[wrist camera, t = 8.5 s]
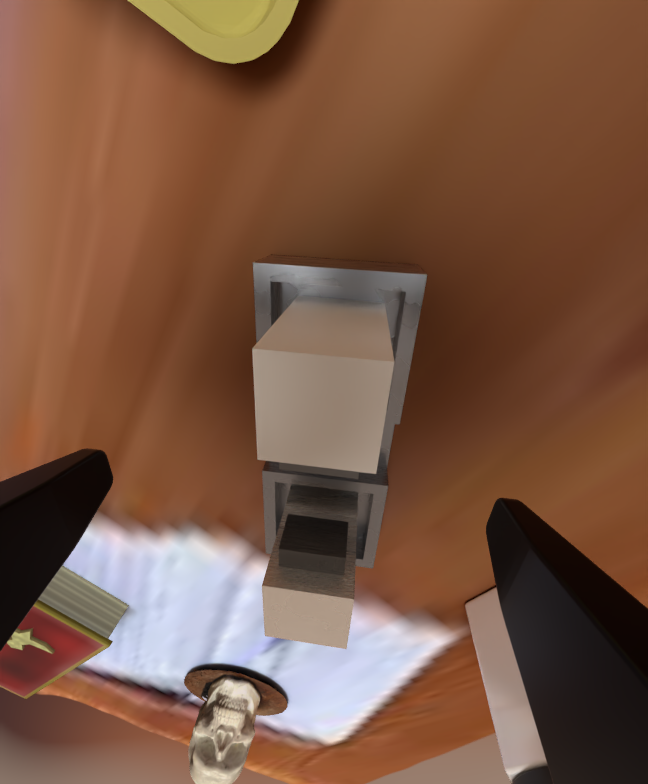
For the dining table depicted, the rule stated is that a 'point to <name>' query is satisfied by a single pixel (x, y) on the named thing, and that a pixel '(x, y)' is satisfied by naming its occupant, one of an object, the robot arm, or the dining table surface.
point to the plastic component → (223, 25)
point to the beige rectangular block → (323, 386)
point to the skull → (226, 722)
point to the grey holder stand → (323, 492)
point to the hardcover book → (58, 633)
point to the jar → (506, 693)
